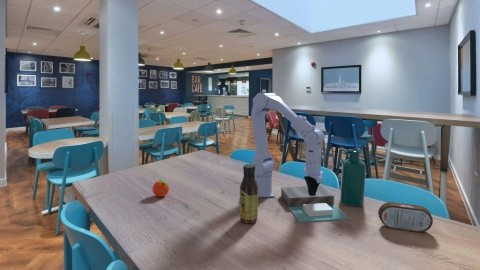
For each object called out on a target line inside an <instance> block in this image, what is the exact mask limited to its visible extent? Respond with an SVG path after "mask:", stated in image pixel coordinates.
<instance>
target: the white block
mask: <svg viewBox="0 0 480 270" xmlns="http://www.w3.org/2000/svg"><path fill="white" fill-rule="evenodd" d="M303 210H304V211H305V212H306V214H307V215H308V216H324V215H333V209H332V208H331V207H330V206H329V205H327V204H326V203H318V204H303Z"/></svg>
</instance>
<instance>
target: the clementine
mask: <svg viewBox="0 0 480 270" xmlns="http://www.w3.org/2000/svg"><path fill="white" fill-rule="evenodd" d="M169 191H170V185H169V183H168V182H167V181H165V180H161V179H160V180H158V181H156V182H155V183H154V184H153V186H152V192H153V194H154V195H155V196H156V197H165V196H166V195H168V194H169Z"/></svg>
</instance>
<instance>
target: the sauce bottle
mask: <svg viewBox="0 0 480 270" xmlns="http://www.w3.org/2000/svg"><path fill="white" fill-rule="evenodd" d="M242 170H243V177H242V181H241V183H240V186H239V218H240V219H239V220H240V221H241V222H242V223H243V224H254V223H256V222H257V221H258V211H259V197H258V184H257V182H256V180H255V179H254V178H255V165H253V163H252V164H251V163H246V164H244V165H242Z"/></svg>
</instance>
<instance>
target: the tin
mask: <svg viewBox="0 0 480 270" xmlns="http://www.w3.org/2000/svg"><path fill="white" fill-rule="evenodd" d="M377 213H378V214H377V215H378V218H379V220H380V222H381V223H382V224H383V226H385V227H387V228H389V229H393V230H394V229H395V230H400V231H406V232H407V231H408V232H414V233H425V232H427V231H428V230H430V229H431V228H432V226H433V223H434V218H433V217H432V214H431V212H430V211H429V209H428V208H426V207H424V206H421V205H418V204H409V203H403V202H394V201H389V202H386V203H383V204H381V206H380V207H379V209H378V212H377Z"/></svg>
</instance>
